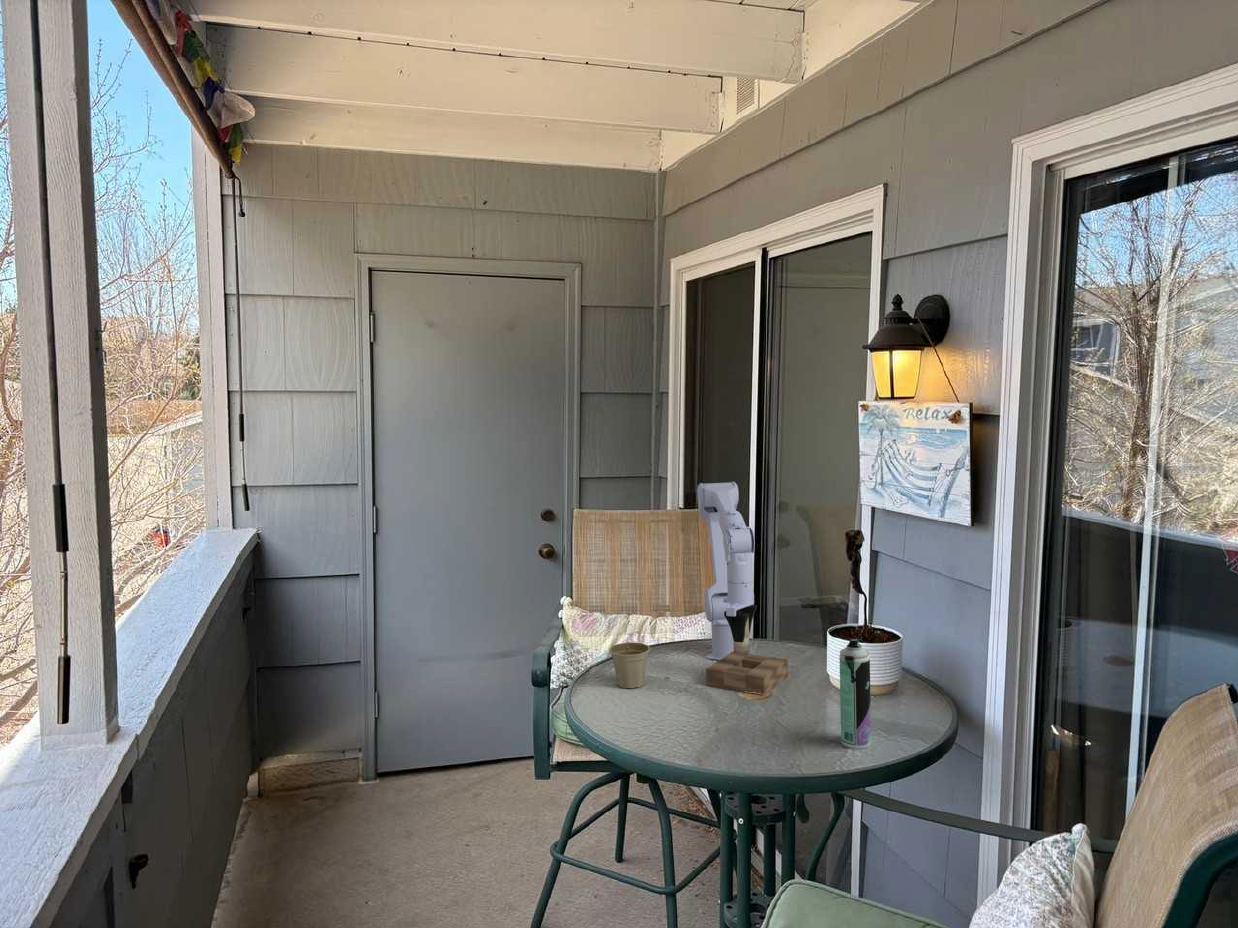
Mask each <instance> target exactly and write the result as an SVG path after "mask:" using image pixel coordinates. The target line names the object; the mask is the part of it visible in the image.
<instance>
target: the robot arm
mask: <svg viewBox="0 0 1238 928" xmlns="http://www.w3.org/2000/svg"><path fill="white" fill-rule="evenodd" d="M696 490H697V491H696V492H697V493H696V494H697V495H696V496H697V507H698V513H699V517H700V518H702V519H704V520H706V523H707V527H708V533H709V545H710V553H711V554H710V555H711V561H712V563H711V564H712V575H713V584H712V585H710V586H709V587H708V588H707V589H706V590H705V593H704V615H705V618H706V619H705V620H707V621H708V622H711V643H712V644H711V651H712V652H711V653H709V654H707V655H706V656H705V658H706V659H707V660H715V661H719V660H720V659H722V658H723V657H725V656H727V655H728V654H730V653H731V652H734V646H733V640H734V642H741V643H743V642H744V637H745V627H746V623H747V619H748V617H749V635H750V634H751V628H752V623H753V619H754V615H755V613H756V611H757V609H758V605H757V604H755V593H754V591H753V589H754V587H753V553H754V552H755V550H756V549H755V545H756V544H755V542H756V541H755V533H754V531H753V529H752V527H750V526H747V525H746V523H745V520H744V517H743V516H742V514H741V513H740V512H739V511H738V510H737V508H738V503H739V495H740V493H739V487H738V484H737V483H736V482H735V481H730V482H713V483H711V482H710V483H703V482H700V483H699V484H698V485H697V489H696ZM750 652H751V651H750V649H749V653H750ZM749 653H747V654H749Z"/></svg>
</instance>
